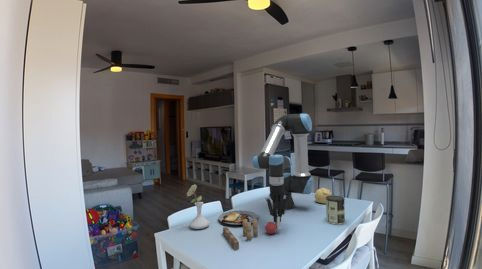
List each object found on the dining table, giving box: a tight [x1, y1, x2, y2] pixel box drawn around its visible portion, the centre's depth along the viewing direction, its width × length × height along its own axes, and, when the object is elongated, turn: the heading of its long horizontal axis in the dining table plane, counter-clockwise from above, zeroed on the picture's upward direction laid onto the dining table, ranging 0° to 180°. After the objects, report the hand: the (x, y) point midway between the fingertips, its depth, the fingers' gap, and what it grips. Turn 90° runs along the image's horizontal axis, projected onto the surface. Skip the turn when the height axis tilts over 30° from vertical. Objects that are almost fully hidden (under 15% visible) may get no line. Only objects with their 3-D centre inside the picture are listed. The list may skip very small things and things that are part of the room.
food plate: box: [217, 210, 260, 226], centre depth 155 cm, size 25×23×4 cm
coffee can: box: [325, 194, 346, 225], centre depth 149 cm, size 10×10×14 cm
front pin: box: [252, 218, 259, 238], centre depth 131 cm, size 2×2×8 cm
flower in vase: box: [186, 184, 211, 230], centre depth 145 cm, size 13×11×25 cm
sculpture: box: [314, 187, 333, 205], centre depth 186 cm, size 11×12×11 cm
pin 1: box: [242, 219, 247, 238], centre depth 132 cm, size 2×2×8 cm
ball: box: [264, 221, 277, 235], centre depth 134 cm, size 6×6×6 cm
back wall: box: [222, 226, 240, 251], centre depth 126 cm, size 20×2×4 cm, turn 20°
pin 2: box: [246, 221, 252, 242], centre depth 127 cm, size 2×2×8 cm
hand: (277, 228), depth 135 cm, fingers closed
